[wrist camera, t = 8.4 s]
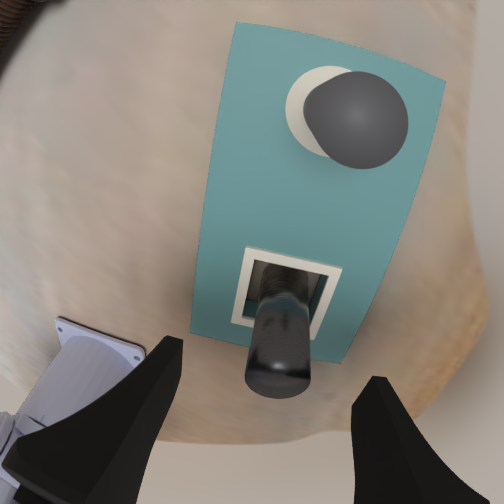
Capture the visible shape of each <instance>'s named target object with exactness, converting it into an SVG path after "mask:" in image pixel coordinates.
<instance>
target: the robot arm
mask: <svg viewBox="0 0 504 504" xmlns="http://www.w3.org/2000/svg"><path fill="white" fill-rule="evenodd" d="M54 323H55V327H56V330H57V334H58V337H59V341H60V344H61V347H62V348H61V350H60V351H59V352H58V354H57V355H56V356H55V358H54V359H53V361H52V362H51V363H50V365H49V366H48V368H47V369H46V370H45V372H44V373H43V375H42V376H41V377H40V379H39V380H38V382H37V383H36V385H35V386H34V388H33V389H32V390H31V392H30V393H29V395H28V397H27V398H26V399H25V401H24V402H23V404H22V405H21V407H20V408H19V410H18V412H17V413H16V415H12V416H11V415H10V414H9V413H8V412H0V504H136V502H137V498H138V493H139V490H140V486H141V483H142V479H143V476H144V472H145V469H146V466H147V462H148V459H149V456H150V452H151V450H152V447H153V445H154V442H155V440H156V438H157V435H158V433H159V431H160V429H161V426H162V424H163V422H164V420H165V417H166V415H167V413H168V411H169V408H170V406H171V404H172V401H173V399H174V396H175V393H176V390H177V387H178V384H179V380H180V377H181V371H182V352H183V340H182V339H179V338H175V337H171V336H168V335H167V336H165V337H164V338H163V339H162V340H161V341H160V343H159V344H158V345H157V346H156V347H155V348H154V349H153V350H152V351H151V352H150V354H149V355H148V356H147V357H146V358H145V352H144V350H143V349H142V348H141V347H139V346H137V345H133V344H130V343H127V342H124V341H121V340H118V339H115V338H112V337H110V336H107V335H104V334H101V333H98V332H95V331H93V330H90V329H87V328H85V327H82V326H79V325H77V324H74V323H72V322H69V321H67V320H64V319H62V318H56V320H55V321H54ZM351 435H352V447H353V458H354V470H355V494H354V504H490V502H489V500H487V499H486V498H484V497H483V496H482V495H480V494H479V493H477V492H476V491H474V490H473V489H472V488H470V487H469V486H468V485H467V484H466V483H464V482H463V481H462V480H461V479H460V478H459V477H458V476H457V475H456V474H455V473H454V472H453V471H451V469H450V468H449V467H448V466H447V465H446V464H445V463H444V462H443V461H442V460H441V459H440V457H439V456H438V455H437V454H436V453H435V451H434V450H433V449H432V448H431V446H430V445H429V444H428V442H427V441H426V440H425V438H424V437H423V435H422V434H421V433H420V431H419V430H418V428H417V427H416V425H415V424H414V422H413V420H412V419H411V417H410V416H409V414H408V412H407V411H406V409H405V407H404V406H403V404H402V402H401V401H400V399H399V397H398V396H397V394H396V392H395V391H394V389H393V387H392V386H391V384H390V383H389V381H388V379H387V378H386V377H379V376H372V377H371V379H370V380H369V382H368V383H367V385H366V386H365V388H364V389H363V391H362V392H361V393H360V395H359V396H358V398H357V399H356V401H355V402H354V403H353V405H352V411H351Z"/></svg>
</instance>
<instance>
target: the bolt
mask: <svg viewBox="0 0 504 504" xmlns="http://www.w3.org/2000/svg"><path fill="white" fill-rule="evenodd" d="M46 1H48V0H0V52H1V51H2V49H3V47H5V44H6V43H7V42H8V40H9V39H10V37H11V36H12V34H13V33H14V32H15V30H16V29H17V27H18V25H20V23H21V21H22V20H23V19H24V17H25V16H26V15H27V13H28V12H29V11H30V10H31V8H32V7H33V6H34V3H36V2H46Z"/></svg>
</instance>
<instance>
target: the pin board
mask: <svg viewBox="0 0 504 504" xmlns="http://www.w3.org/2000/svg"><path fill="white" fill-rule="evenodd" d="M445 83H446V81H444V80H442V79H440V78H438V77H435V76H433V75H431V74H429V73H426V72H424V71H422V70H420V69H417V68H415V67H412V66H410V65H407V64H405V63H402V62H400V61H397V60H394V59H392V58H389V57H386V56H383V55H380V54H378V53H375V52H372V51H369V50H365V49H362V48H359V47H356V46H352V45H349V44H346V43H342V42H338V41H335V40H331V39H327V38H323V37H319V36H315V35H310V34H306V33H301V32H296V31H291V30H286V29H281V28H275V27H269V26H263V25H256V24H248V23H240V22H236V25H235V29H234V34H233V39H232V43H231V48H230V53H229V58H228V63H227V68H226V73H225V78H224V84H223V89H222V94H221V100H220V106H219V111H218V117H217V123H216V129H215V135H214V141H213V147H212V153H211V160H210V166H209V173H208V180H207V187H206V194H205V201H204V208H203V216H202V224H201V232H200V240H199V248H198V257H197V265H196V275H195V284H194V294H193V304H192V315H191V326H190V333H192V334H196V335H200V336H204V337H208V338H212V339H216V340H221V341H225V342H229V343H233V344H238V345H242V346H247V347H250V344H251V338H252V333H253V328H254V322H255V317H256V311H257V306H258V302H257V301H252V300H248V299H246V296H247V292H248V287H249V283H250V278H251V273H252V269H253V264H254V260H255V259H256V260H260V261H265V262H269V263H274V264H278V265H283V266H287V267H292V268H296V269H301V270H305V271H310V272H314V273H319V274H321V276H320V279H319V282H318V284H317V287H316V290H315V293H314V296H313V298H312V301H311V304H310V307H309V324H310V359H313V360H319V361H325V362H331V363H338V364H340V363H341V361H342V360H343V358H344V356H345V354H346V352H347V350H348V348H349V347H350V345H351V343H352V341H353V339H354V337H355V335H356V333H357V331H358V329H359V327H360V325H361V323H362V321H363V319H364V317H365V315H366V313H367V311H368V309H369V306H370V304H371V302H372V300H373V298H374V296H375V294H376V291H377V289H378V287H379V285H380V283H381V280H382V278H383V276H384V273H385V271H386V269H387V266H388V264H389V262H390V259H391V257H392V254H393V252H394V250H395V247H396V245H397V242H398V240H399V237H400V234H401V232H402V229H403V227H404V224H405V221H406V219H407V216H408V213H409V210H410V207H411V205H412V202H413V199H414V196H415V193H416V190H417V187H418V184H419V181H420V178H421V175H422V172H423V168H424V165H425V162H426V159H427V155H428V152H429V148H430V145H431V141H432V138H433V134H434V130H435V126H436V122H437V118H438V114H439V110H440V106H441V102H442V97H443V93H444V88H445Z"/></svg>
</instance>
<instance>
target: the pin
mask: <svg viewBox="0 0 504 504" xmlns="http://www.w3.org/2000/svg"><path fill="white" fill-rule="evenodd" d="M310 381H311V366H310V324H309V298H308V277H307V272H306V271H305V270H301V269H296V268H292V267H287V266H283V265H278V264H274V263H270V264H269V265H268V266H267V267H266V268H265V270H264V273H263V278H262V283H261V289H260V295H259V300H258V306H257V311H256V317H255V322H254V328H253V333H252V338H251V344H250V349H249V355H248V360H247V365H246V371H245V382H246V384H247V385H248V387H249V388H250V389H251V390H253V391H254V392H256V393H257V394H259V395H262V396H265V397H269V398H275V399H283V398H290V397H294V396H296V395H299V394H301V393H302V392H304V391H305V390H306V389H307V388H308V386H309V384H310Z"/></svg>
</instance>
